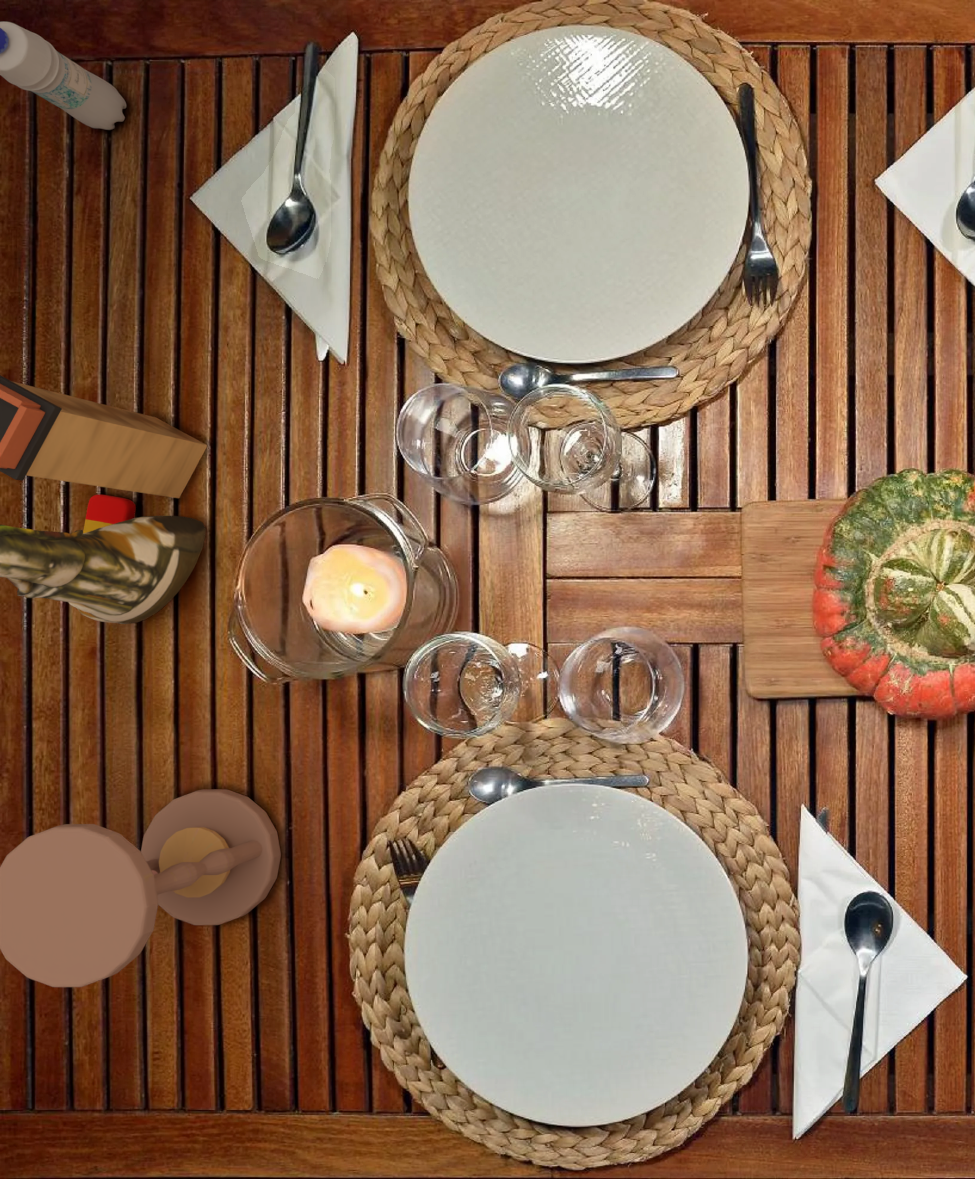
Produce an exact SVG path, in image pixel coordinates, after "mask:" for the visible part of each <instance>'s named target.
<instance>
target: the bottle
mask: <svg viewBox="0 0 975 1179" xmlns="http://www.w3.org/2000/svg"><path fill="white" fill-rule="evenodd" d="M0 76H1V77H2V78H3V79H4V80H6V81H7V82H8V83H10V84H12V85H14V86H16V87H18V88H19V89H21V90H24V91H28V92H29V91H30V92H32V93H34V94H35V95H37V96H38V97H40V98H42V99H44V100H46V101H48V102H49V103H50V104H52V105H54V106H56V107H58V108H60V109H61V110H62V111H63V112H66V114H68V115H70V116H71V117H73V118H74V119H75V120H77V121H78V122H80V123H81V124H83V125H85V126H87V127H89V128H91V129H101V130H106V131H111V130H113V129H115V128H116V126H115V123H117V122H120V123H121V122H124V121H125V119H126V117H125V115H124V113H123V110H125V109H126V108H127V102H126V100H125V98H124V97H123V96H122V95H121V94H120V92H119V91H118V89H116V87H115V86H113V84H111V83H110V82H109V81H106V80H105V79H103V78H101V77H99V76H98V75H96V74H94V73H92V72H90V71H88V70H86V69H85V68H84V67H82V66H81V65H79V64H78V63H76V62H75V61H73V60H71V58H68V57H67V56H65V55H64V54H62V53H60V52H59V51H57V50H56V49H55V47H54V45H53V44H51V43H50V42H49V41H47V40H45V39H44V38H43V37H42V36H40V35H39V34H37V33H35V32H32V31H30V30H28V29H25V28H24V27H22V26H20V25H18V24H17V23H14V22H11V21H0Z"/></svg>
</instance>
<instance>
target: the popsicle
mask: <svg viewBox="0 0 975 1179" xmlns="http://www.w3.org/2000/svg"><path fill="white" fill-rule="evenodd" d="M136 508H137V507H136V504H135V502H134V501H133V500H131V499H129V498H125V497H120V496H116V495H115V496H113V495H108V494H100V493H99V494H94V495H92V496H91V497H90V498H89V499H88V503H87V508H86V513H85V519H84V524H83V529H82V530H83V533H87V532H90V531H93V530H96V529H98V528H102V527H106V526H109V525H112V524H115V523H118V522H122V521H126V520H130V519H133V518H136V517H135V516H136V510H137V509H136Z"/></svg>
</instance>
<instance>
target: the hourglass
mask: <svg viewBox="0 0 975 1179" xmlns="http://www.w3.org/2000/svg"><path fill="white" fill-rule="evenodd" d="M279 840H280V839H279V836H278V831H277V829H276V828H275V826H274V823H273V822H272V820H271V819H270V817H269V815H268V813H267V811H265V810H264V808H262V807H261V806H259V805H258V804H257V803H256V802H255V801H253V800H252V799H251V798H250V797H249V796H246V795H243V794H241V793H238V792H235V791H234V790H230V789H227V788H222V789H221V788H219V789H217V788H216V789H215V788H213V789H211V788H209V789H208V788H207V789H206V788H205V789H198V790H195V791H192V792H190V793H188V794H184V795H181V796H179V797H177V798H173V799H172V800H171V801H170V802H169V803H168V804H166V805H165V806H164V807H163V808H162V809H160V810H159V811H158V812H157V813H156V814H155V815H154V817H153V819H152V820H151V822H150V823H149V826H148V827H147V829H146V831H145V832H144V834H143V838H142V843H141V850H140V849H138V848H137V847H136V846H135V845H134V844H133V843H131V842H130V841H129V840H128V839H127V838H126V837H125V836H123V835H122V834H121V833H119V832H117V831H114V830H111V829H108V828H106V827H103V826H101V825H98V824H95V823H65V824H61V825H60V824H59V825H55V826H53V827H51V828H48V829H46V830H43V831H40V832H37V833H35V834H32V835H30V836H28V837H26V838H25V839H24V840H23V841H22V842H21V843H20V844H18V845H17V846H16V847H15V848H14V849H12V850H11V851H10V852H9V853H8V854H6V856H5V858H4V860H3V861H2V863H1V865H0V951H1V953H2V955H3V956H4V958H5V960H6V961H7V962H8V963H10V965H12V966H13V967H14V968H16V970H18V971H19V972H20V973H21V974H23V976H25V977H26V978H27V979H30V980H32V981H35V982H38V983H41V984H44V985H45V986H46V985H47V986H49V987H52V988H83V987H86V986H89V985H91V984H94V983H97V982H100V981H102V980H105V979H107V978H110V977H112V976H114V975H117V974H118V973H119V972H121V971H122V970H123V969H124V968H125V967H127V966H128V965H129V964H130V963H132V961H134V960H135V959H136V958H137V957H138V956H139V955H141V953H142V951H143V950H144V948H145V946H146V944H147V942H148V940H149V939H150V937H151V935H152V934H153V932H154V930H155V924H156V920H157V913H158V907H159V908H161V909H162V910H164V911H165V912H166V913H167V914H168V915H169V916H171V917H172V918H174V919H176V920H179V921H181V922H184V923H186V924H189V925H190V924H191V925H193V926H219V925H223V924H225V923H228V922H230V921H233V920H235V919H238V918H242V917H244V916H246V915H247V914H249V913H250V912H251V911H252V910H253V909H255V908H256V907H257V906H258V905H260V904H261V903H262V902H263V901H264V900H265V899H266V898H267V897H268V895H269V893H270V891H271V889H272V887H273V886H274V884H275V882H276V880H278V874H279V868H280V863H281V858H282V851H281V846H280V841H279Z"/></svg>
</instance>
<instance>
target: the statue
mask: <svg viewBox="0 0 975 1179" xmlns="http://www.w3.org/2000/svg"><path fill="white" fill-rule="evenodd" d="M83 530H84V529H77V530H75V531H72V532H70V533H68V532H63V531H54V530H53V531H51V530H38V529H30V528H23V527H17V526H11V525H6V524H0V578H6V579H7V580H8V581H9V582H10V583H11V584H12V585H13V586H14V587H16V588H17V590H16V594H17V596H18V597H24V598H26V599H47V600H53V601H57V602H65V603H68V604H69V605H70V606H71V607H72V608H75V609H77V611H78V612H79V613H80V615H81V616H85V617H87V618H89V619H91V620H94V621H97V622H102V623H111V624H121V625H131V624H137V623H139V622H142V621H145V620H147V619H148V618H150V617H153V615H155V614H157V613H158V612H160V611H161V610H162V609H163V608H164V607H165V606H167V605H168V604H169V603H170V602H171V601H172V600H173V599H174V597H175V596H176V595H177V594H178V593H179V592H180V590H181V589H182V588H183V586H184V585H185V583H186V582H187V580H188V579H189V578H190V576H191V574H192V572H193V570H194V569H195V567H196V565H197V563H198V560H199V557H200V555H201V552H202V551H203V548H204V545H205V544H204V543H205V539H206V533H207V529H206V526H205V524H204V523H203V522H202V521H200V520H198V519H196V518H193V517H188V516H180V515H164V514H163V515H160V514H159V515H145V516H139V517H134V518H133V519H130V520H126V521H122V522H118V523H115V524H112V525H109V526H106V527H102V528H98V529H96V530H93V531H90V532H87V533H83Z"/></svg>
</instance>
